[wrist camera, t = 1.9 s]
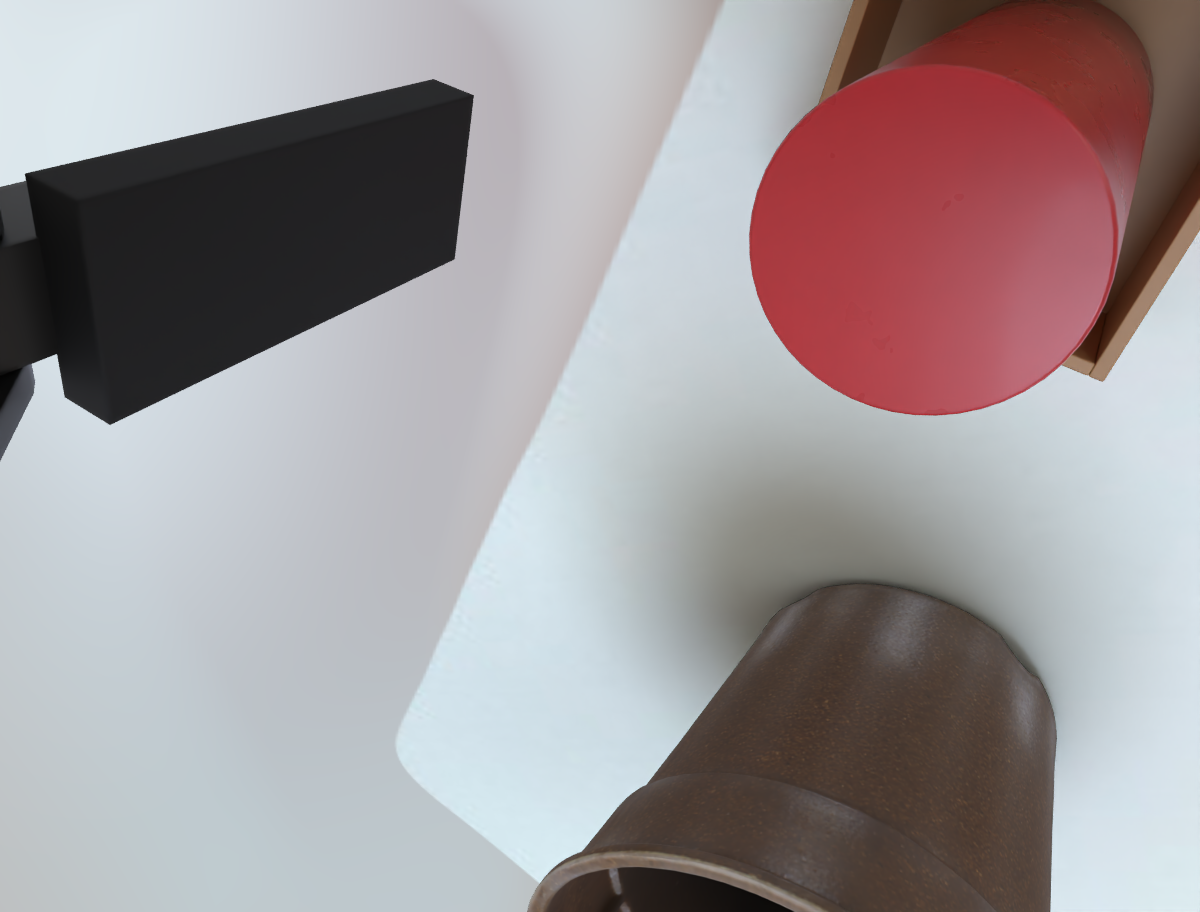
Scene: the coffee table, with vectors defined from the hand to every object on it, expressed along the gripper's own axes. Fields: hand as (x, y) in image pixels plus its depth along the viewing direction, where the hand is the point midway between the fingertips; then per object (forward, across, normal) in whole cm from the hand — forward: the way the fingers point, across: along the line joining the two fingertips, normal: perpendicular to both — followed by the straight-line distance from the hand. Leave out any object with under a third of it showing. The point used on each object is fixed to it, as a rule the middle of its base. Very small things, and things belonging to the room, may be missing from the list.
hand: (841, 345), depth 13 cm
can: (+18, 0, 0) cm, 18 cm away
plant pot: (+19, +6, -23) cm, 30 cm away
